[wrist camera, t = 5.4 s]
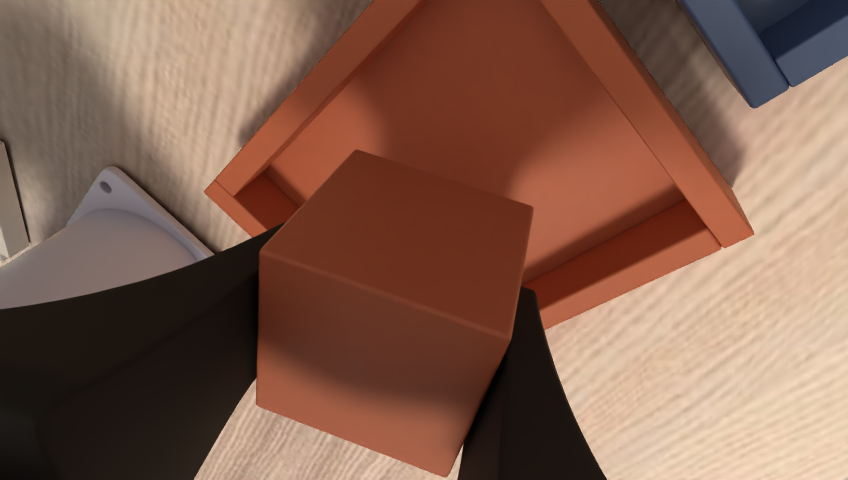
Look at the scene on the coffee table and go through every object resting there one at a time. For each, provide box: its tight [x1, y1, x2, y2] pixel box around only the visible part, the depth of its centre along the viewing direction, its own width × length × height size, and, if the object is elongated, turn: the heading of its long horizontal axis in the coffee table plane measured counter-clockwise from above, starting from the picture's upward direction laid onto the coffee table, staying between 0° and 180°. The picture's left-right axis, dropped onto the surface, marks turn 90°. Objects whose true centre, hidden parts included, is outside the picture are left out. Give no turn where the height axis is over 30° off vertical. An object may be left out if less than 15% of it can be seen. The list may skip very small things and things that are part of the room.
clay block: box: [256, 150, 534, 477], centre depth 11 cm, size 4×4×4 cm
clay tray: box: [205, 0, 754, 330], centre depth 16 cm, size 13×11×2 cm
